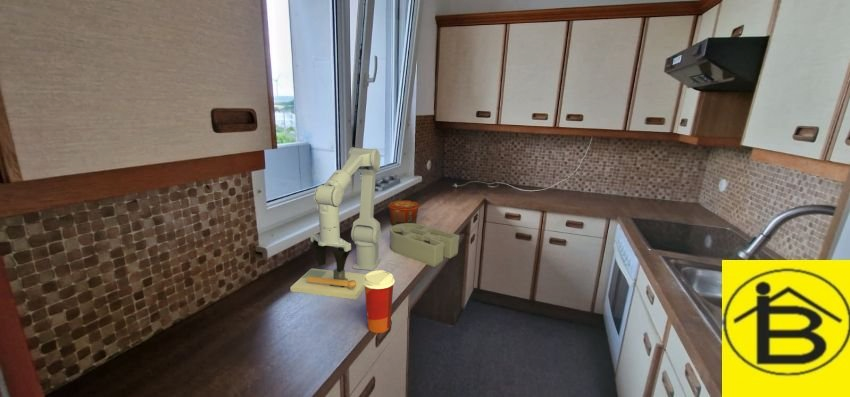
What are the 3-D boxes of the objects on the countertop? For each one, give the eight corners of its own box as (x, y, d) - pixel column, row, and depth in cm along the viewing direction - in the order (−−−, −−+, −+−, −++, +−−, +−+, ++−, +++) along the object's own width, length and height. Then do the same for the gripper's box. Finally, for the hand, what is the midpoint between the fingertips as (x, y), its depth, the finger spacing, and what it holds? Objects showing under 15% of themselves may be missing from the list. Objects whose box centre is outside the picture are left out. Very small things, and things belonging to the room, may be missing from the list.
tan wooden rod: (309, 279, 115) (309, 275, 115) (357, 284, 113) (356, 280, 112) (306, 282, 113) (306, 278, 113) (354, 288, 110) (354, 284, 110)
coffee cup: (379, 314, 102) (379, 266, 98) (400, 326, 96) (401, 275, 93) (357, 327, 95) (356, 276, 92) (378, 340, 90) (377, 287, 86)
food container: (421, 220, 189) (421, 200, 186) (416, 229, 174) (416, 208, 171) (391, 218, 191) (392, 198, 188) (384, 227, 176) (384, 206, 173)
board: (311, 272, 126) (311, 266, 125) (370, 278, 122) (370, 272, 122) (290, 291, 113) (290, 284, 112) (356, 299, 109) (356, 292, 108)
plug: (335, 282, 119) (334, 266, 118) (350, 284, 118) (350, 267, 117) (327, 290, 114) (327, 273, 112) (344, 292, 113) (343, 275, 112)
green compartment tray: (434, 268, 133) (435, 247, 131) (381, 249, 149) (381, 229, 147) (458, 255, 145) (459, 235, 143) (407, 238, 162) (407, 220, 160)
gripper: (301, 224, 104) (304, 266, 107) (338, 234, 97) (340, 279, 101) (319, 218, 110) (321, 258, 113) (355, 227, 103) (356, 269, 107)
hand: (331, 267), depth 107 cm, fingers open, 7 cm apart
